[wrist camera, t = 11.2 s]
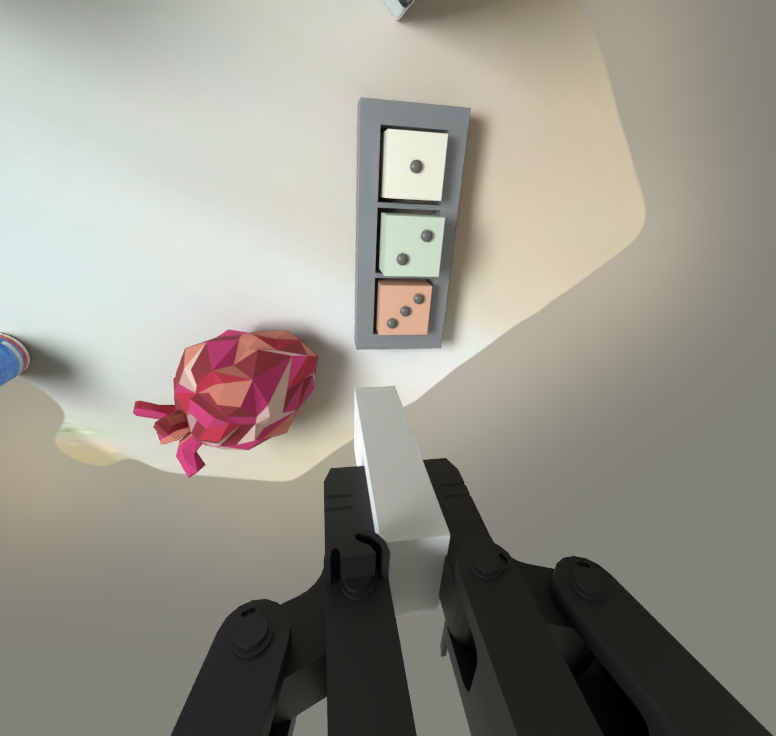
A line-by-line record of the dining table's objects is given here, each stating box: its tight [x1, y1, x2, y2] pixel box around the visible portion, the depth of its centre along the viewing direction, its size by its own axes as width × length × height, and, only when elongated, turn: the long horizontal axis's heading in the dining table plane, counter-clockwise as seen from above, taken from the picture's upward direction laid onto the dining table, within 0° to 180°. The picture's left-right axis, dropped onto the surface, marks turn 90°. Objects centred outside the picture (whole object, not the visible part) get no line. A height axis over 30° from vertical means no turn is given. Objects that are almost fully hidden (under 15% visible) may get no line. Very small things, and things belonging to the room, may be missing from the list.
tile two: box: [379, 212, 445, 277], centre depth 40 cm, size 6×6×4 cm
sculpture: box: [133, 330, 318, 477], centre depth 43 cm, size 14×12×20 cm
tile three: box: [374, 278, 432, 335], centre depth 45 cm, size 6×6×4 cm
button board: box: [355, 97, 471, 350], centre depth 43 cm, size 11×26×3 cm, turn 177°
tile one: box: [379, 129, 448, 201], centre depth 39 cm, size 6×6×4 cm
